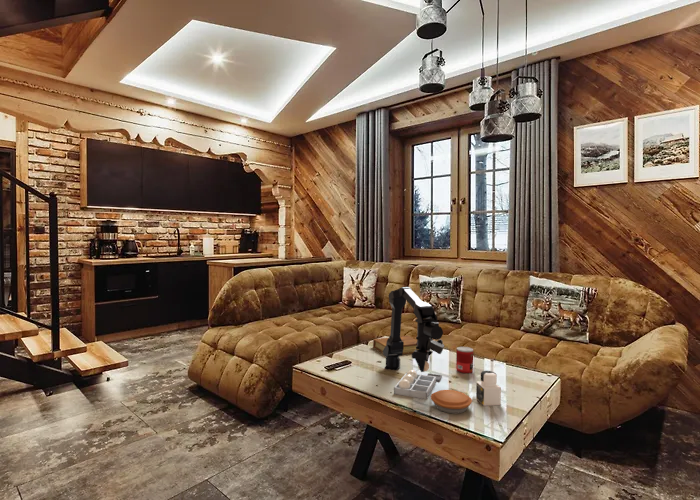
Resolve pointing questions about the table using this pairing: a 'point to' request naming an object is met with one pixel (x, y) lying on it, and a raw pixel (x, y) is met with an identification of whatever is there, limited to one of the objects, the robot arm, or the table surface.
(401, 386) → the white egg
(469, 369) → the canned food
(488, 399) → the medicine bottle
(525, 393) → the table surface
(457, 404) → the pie
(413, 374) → the white egg
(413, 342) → the diary
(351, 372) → the table surface
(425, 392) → the egg tray
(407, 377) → the white egg
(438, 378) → the egg dish
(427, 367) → the brown egg
